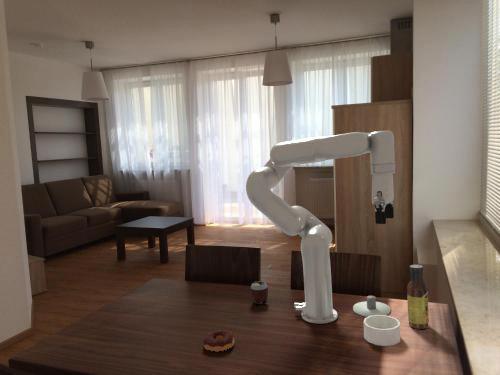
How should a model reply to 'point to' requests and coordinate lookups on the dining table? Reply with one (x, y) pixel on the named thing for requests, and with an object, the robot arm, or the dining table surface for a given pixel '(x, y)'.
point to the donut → (219, 340)
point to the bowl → (382, 330)
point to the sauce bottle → (417, 299)
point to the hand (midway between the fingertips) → (384, 220)
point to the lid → (371, 307)
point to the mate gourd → (260, 290)
